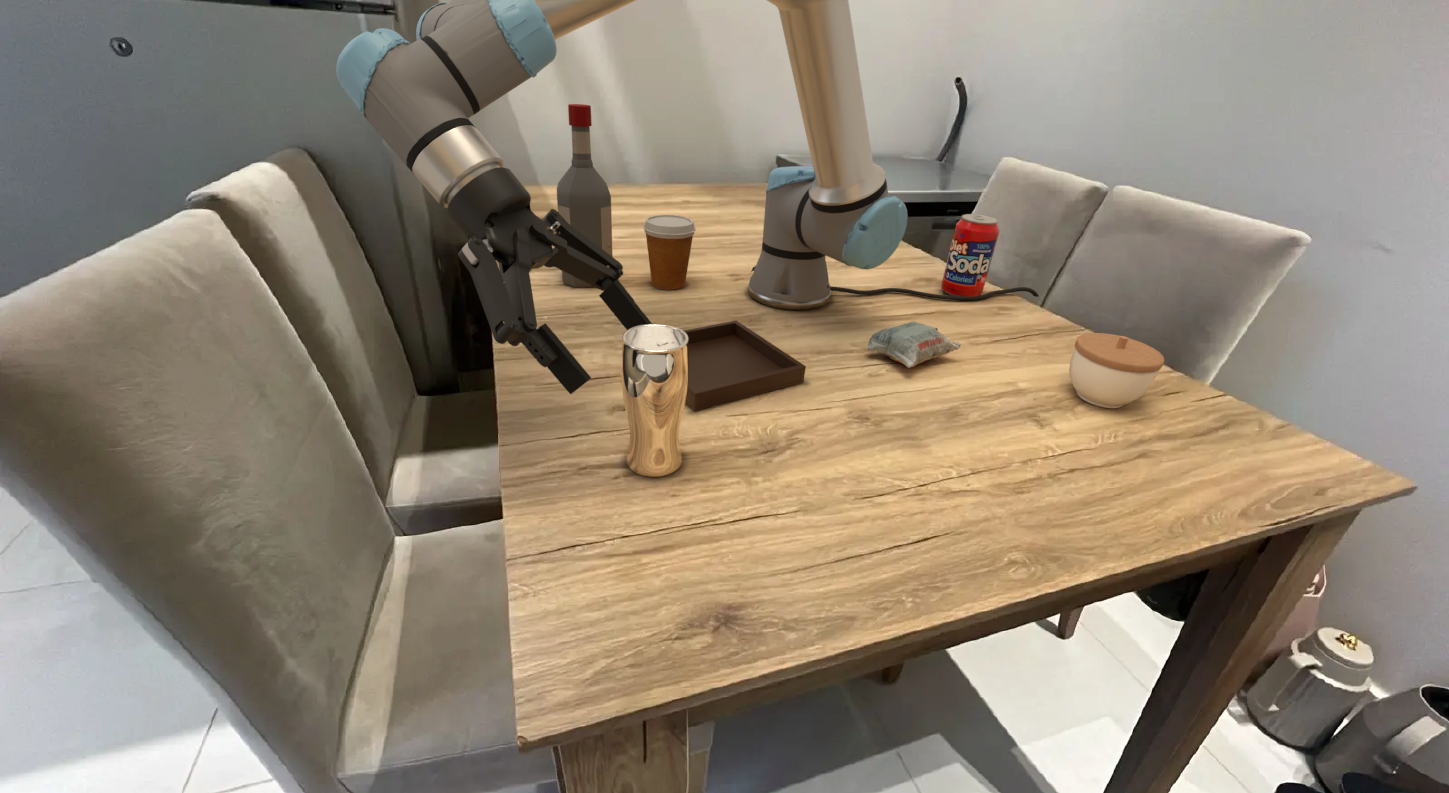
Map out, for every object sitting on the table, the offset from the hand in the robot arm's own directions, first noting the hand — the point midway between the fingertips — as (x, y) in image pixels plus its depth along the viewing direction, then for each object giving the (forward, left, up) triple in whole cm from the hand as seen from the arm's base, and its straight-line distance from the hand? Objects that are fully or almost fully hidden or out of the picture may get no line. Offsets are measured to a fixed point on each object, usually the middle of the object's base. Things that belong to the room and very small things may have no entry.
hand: (616, 358), depth 65 cm
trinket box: (-66, +18, -12) cm, 69 cm away
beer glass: (-3, +3, -12) cm, 13 cm away
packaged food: (-50, -3, -12) cm, 51 cm away
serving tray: (-21, -13, -12) cm, 27 cm away
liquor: (-18, -55, -12) cm, 59 cm away
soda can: (-82, -20, -12) cm, 85 cm away
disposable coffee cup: (-31, -47, -12) cm, 57 cm away
